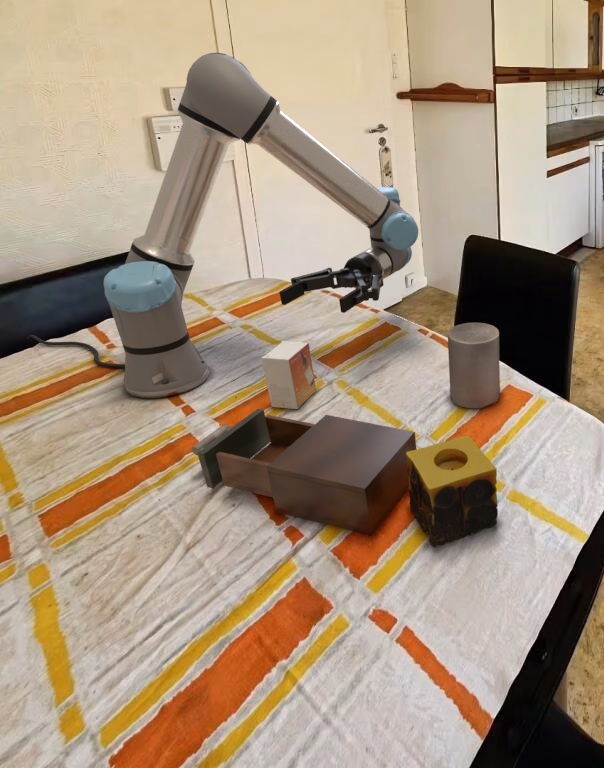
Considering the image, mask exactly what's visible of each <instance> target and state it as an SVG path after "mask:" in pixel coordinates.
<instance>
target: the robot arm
mask: <svg viewBox="0 0 604 768" xmlns="http://www.w3.org/2000/svg"><path fill="white" fill-rule="evenodd" d="M177 113H178V115H179V118H180V119H181V122H182V123H181V127H180V130H179V133H178V136H177V138H176V141H175V142H176V143H175V144H174V148H173V150H172V153H171V156H170V159H169V161H168V165H167V168H166V171H165V173H164V177H163V179H162V182H161V185H160V188H159V190H158V194H157V197H156V200H155V203H154V205H153V208H152V212H151V215H150V218H149V220H148V223H147V226H146V229H145V232H144V234H143V235H140V236H138V237H135V238H134V239H132V243H131V246H130V248H129V252H128V254H127V257H126V260H125V263H124V264H121V265H119V266H118V267H117V268H113V269H111V270H110V271H109V272H108V273H106V275H105V276H104V278H103V288H104V296H105V298H106V301H107V302H108V305H109V308H110V311H111V314H112V317H113V321H114V324H115V326H116V330H117V332H118V335H119V338H120V341H121V344H122V348H123V350H124V363H109V362H103V361H101V360H99V356H100V355H99V351H98V349H96V348H95V347H93V346H92V345H90V344H88V343H85V342H81V341H47V340H44V339H42V338H40V337H38V336H36V335H35V334H29V335H28V336H27V337H26V341H31V340H35V341H36V342H38V343H40V344H42V345H45V346H79V347H84V348H86V349H88V350H90V351H92V352H93V361H94V362H95V363H96V364H97V365H99V366H102V367H107V368H113V369H114V368H115V369H124V375H123V382H124V387H125V390H126V392H127V393H128V394H129V395H131V396H132V397H136V398H140V399H160V398H161V399H162V398H168V397H172V396H177V395H180V394H183V393H186V392H188V391H191V390H193V389H195V388H197V387H199V386H200V385H201V384H203V383H204V382H205V381H206V380H207V379H208V377H209V375H210V372H209V366H208V364H207V362H206V360H205V358H203V356H202V355H201V353H200V351H199V350H198V349H197V347H196V346H195V344H194V343H193V342H192V340H191V338H190V334H189V329H188V326H187V323H186V319H185V315H184V311H183V307H182V306H183V305H182V304H183V298H184V293H185V290H186V287H187V284H188V281H189V278H190V275H191V273H192V269H193V267H194V265H195V258H194V256H193V255H192V253H191V249H192V246H193V244H194V240H195V238H196V236H197V233H198V230H199V228H200V224H201V222H202V219H203V217H204V213H205V211H206V208H207V205H208V204H209V200H210V197H211V195H212V192H213V189H214V186H215V184H216V181H217V178H218V175H219V172H220V170H221V167H222V165H223V162H224V159H225V157H226V154H227V152H228V151H227V150H228V148H229V146H230V144H232V143H236V142H238V141H240V140H242V141H243V142H244V143H245V144H247V145H249V146H250V145H257V146H259V147H260V148H261V149H263V150H264V151H265V152H267V154H269V155H270V156H272V157H273V158H274V159H276V160H277V161H278V162H280V163H281V164H283V166H285V167H287V168H288V169H289V170H290V171H292V172H293V173H295V174H296V175H297V176H298V177H300V178H301V179H302V180H303V181H305V182H307V183H308V184H309V185H310V186H312V187H313V188H314V189H315V190H317V191H318V192H320V194H323V196H325V197H326V198H328V199H329V200H330V201H332V202H333V203H334V204H335V205H337V206H338V207H340V208H341V209H342V210H344V211H345V212H346V213H347V214H349V215H350V216H352V217H353V218H354V219H355V220H357V221H358V222H359V223H360V224H362V225H364V226H365V227H366V228H368V231H369V239H370V247H369V248H367V249H366V250H363V251H362V252H360V253H358V254H356V255H354V256H352V257H350V258H349V259H348V260H347V261H346V263H345V264H344V267H343V268H341V269H339V270H333V268H332V267H327V268H324V269H322V270H318V271H315V272H311V273H307V274H302V275H299V276H295V277H291V278H290V283H291V285H289V286H288V287H285V288H283V289H282V290H279V298H280V303H281V305H282V306H286V305H288V304H290V303H291V302H294V301H295V300H297V299H299V298H300V297H302V296H304V295H305V293H307V292H312V291H318V290H321V289H322V290H323V289H328V288H331V289H332V290H335V289H341V288H344V289H347V288H349V289H353V288H354V290H352V291H349V292H348V293H347V294H345V295H344V296H342V297H340V298H339V299H338V301H339V307H340V313H343V314H345V313H346V312H348V311H350V310H351V309H353V308H354V307H356V306H358V305H360V304H361V303H363V302H367V301H370V299H372V301H374V302H377V301H379V300H380V294H381V293H380V292H381V288H382V287H383V286H384V279H387V278H388V277H390V276H391V275H393V274H395V273H396V272H398V271H400V270H402V269H403V268H404V267H405V266H407V264H408V263H409V262H410V261H411V259H412V256H413V250H412V247H413V245H414V244H415V243H416V242H417V239H418V236H419V227H418V224H417V222H416V221H415V219H414V217H413V216H412V215H411V214H409V213H408V212H406V211H405V210H404V209H403V208H402V207H401V200H400V194H399V191H398V190H397V188H394V187H390V186H379V187H376V186H375V185H373V184H372V183H370V182H369V181H368V180H367V179H365V178H364V176H362V175H361V174H360V173H358V172H357V171H356V170H355V169H354V168H352V167H351V166H349V165H348V164H347V163H346V162H344V160H342V159H341V158H340V157H339V156H338V155H336V154H335V153H334V152H333V151H331V150H330V149H329V148H328V147H326V146H325V145H324V144H323V143H321V142H320V141H319V140H318V139H316V138H315V137H314V136H313V135H311V134H310V133H309V132H308V131H306V130H305V129H304V128H303V127H301V126H300V125H299V124H298V123H296V122H295V120H293V119H292V118H291V117H289V116H288V115H286V113H284V112H283V111H282V110H281V106H280V103H279V101H278V100H277V99H276V98H274V96H272V95H271V94H270V93H269V92H268V91H266V90H265V89H264V88H263V87H262V86H261V85H260V84H259V82H258V81H256V79H255V78H254V77H253V76H252V74H251V71H249V69H248V68H247V67H246V66H245V64H243V63H242V62H241V61H239V60H238V59H236V58H235V57H234V56H231V55H229V54H226V53H223V52H209V53H206V54H203V55H201V56H200V57H198V58H197V59H196V60H195V61H194V62H193V63H192V64H191V66H190V68H189V69H188V71H187V75H186V83H185V86H184V89H183V93H182V95H181V98H180V101H179V104H178V107H177ZM335 281H336V283H335Z"/></svg>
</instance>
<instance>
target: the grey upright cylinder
mask: <svg viewBox="0 0 604 768" xmlns="http://www.w3.org/2000/svg"><path fill="white" fill-rule="evenodd" d="M447 349H448V350H447V351H448V352H447V353H448V373H449V375H448V376H449V396H450V400H451V402H452V403H453V404H455V405H457V406H458V407H461V408H466V409H481V408H485V407H487V406H490V405H492V404H495V403H496V402H498V401H499V398H500V396H501V394H500V392H501V391H500V390H501V381H500V380H501V379H500V377H501V376H500V375H501V374H500V372H501V371H500V330H499V329H498V328H497V327H495V326H494V325H491V324H489V323H484V322H466V323H460V324H457V325H454V326H452V327H451V328H449V330H448V331H447Z"/></svg>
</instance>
